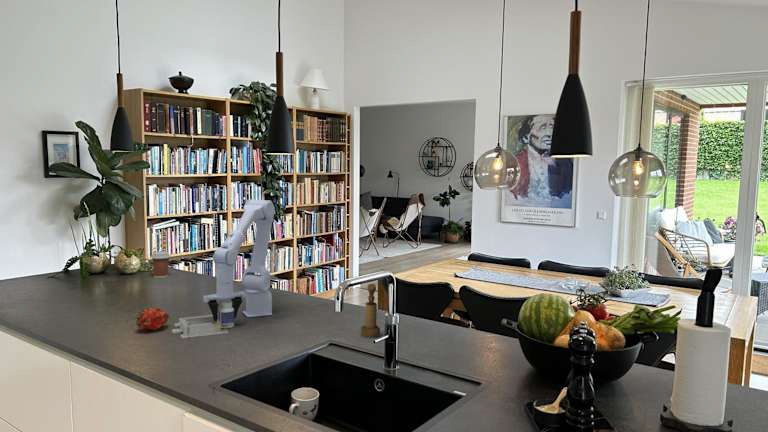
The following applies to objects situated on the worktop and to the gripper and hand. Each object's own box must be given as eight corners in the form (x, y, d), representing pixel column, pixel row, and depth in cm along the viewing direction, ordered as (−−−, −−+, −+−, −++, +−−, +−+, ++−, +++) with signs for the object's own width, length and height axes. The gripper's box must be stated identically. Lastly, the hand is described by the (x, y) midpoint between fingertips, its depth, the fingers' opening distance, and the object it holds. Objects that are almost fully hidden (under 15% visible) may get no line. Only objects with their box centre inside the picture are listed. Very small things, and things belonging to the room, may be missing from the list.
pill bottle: (237, 326, 193) (237, 301, 192) (225, 329, 189) (225, 304, 188) (227, 323, 196) (227, 299, 195) (215, 326, 192) (215, 302, 191)
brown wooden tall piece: (365, 338, 184) (367, 286, 182) (357, 333, 190) (359, 282, 188) (383, 336, 187) (384, 285, 185) (374, 331, 193) (376, 281, 191)
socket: (217, 320, 199) (217, 312, 199) (228, 332, 185) (228, 324, 185) (169, 325, 191) (169, 317, 191) (175, 339, 177) (175, 330, 177)
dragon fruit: (132, 338, 182) (165, 334, 191) (146, 327, 178) (178, 324, 187) (127, 314, 185) (159, 312, 195) (140, 303, 181) (172, 302, 191)
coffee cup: (147, 277, 267) (146, 253, 266) (157, 273, 276) (157, 250, 274) (164, 278, 265) (164, 254, 264) (174, 275, 274) (174, 251, 273)
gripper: (240, 277, 199) (240, 313, 200) (200, 281, 190) (200, 319, 191) (248, 281, 193) (247, 318, 194) (207, 285, 184) (207, 324, 186)
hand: (224, 319), depth 192 cm, fingers open, 6 cm apart
